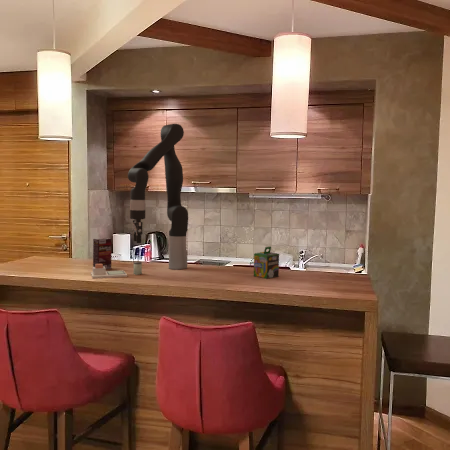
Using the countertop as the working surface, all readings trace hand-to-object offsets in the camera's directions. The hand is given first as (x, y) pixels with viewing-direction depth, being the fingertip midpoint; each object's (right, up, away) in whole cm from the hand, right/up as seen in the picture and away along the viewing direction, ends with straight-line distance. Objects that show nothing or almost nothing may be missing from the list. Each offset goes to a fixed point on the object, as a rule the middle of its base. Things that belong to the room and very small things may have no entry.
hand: (137, 242), depth 237 cm
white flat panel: (-13, -16, -3) cm, 21 cm away
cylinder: (0, -16, +1) cm, 16 cm away
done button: (-17, -13, -5) cm, 22 cm away
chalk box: (+63, -17, 0) cm, 65 cm away
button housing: (-17, -16, -5) cm, 24 cm away
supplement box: (-21, -15, +14) cm, 29 cm away
